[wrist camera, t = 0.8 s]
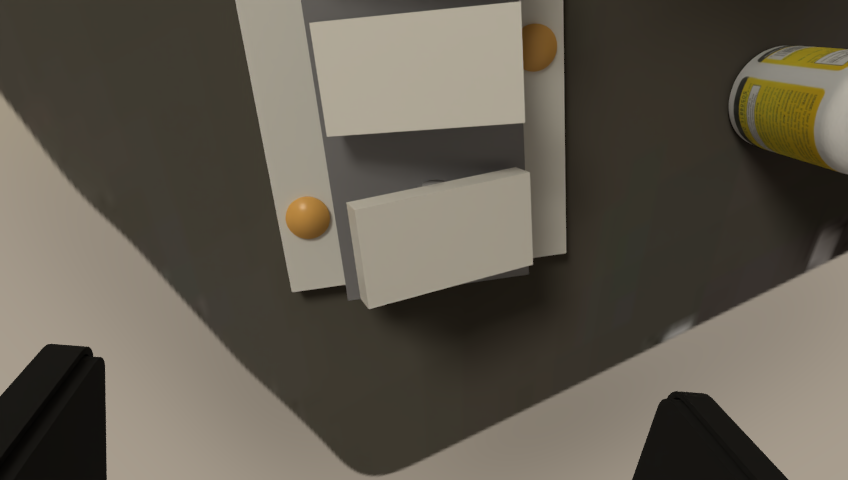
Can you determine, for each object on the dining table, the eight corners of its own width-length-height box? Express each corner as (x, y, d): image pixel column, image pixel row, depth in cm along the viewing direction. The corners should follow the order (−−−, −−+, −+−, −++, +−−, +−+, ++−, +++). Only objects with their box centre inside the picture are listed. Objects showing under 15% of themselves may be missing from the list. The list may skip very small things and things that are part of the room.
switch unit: (552, -221, 26) (592, -266, 22) (560, 246, 34) (590, 279, 30) (200, -196, 25) (173, -239, 21) (293, 284, 33) (286, 323, 29)
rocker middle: (519, 1, 24) (520, 1, 22) (524, 114, 25) (525, 122, 23) (323, 21, 25) (309, 22, 23) (338, 127, 26) (326, 136, 25)
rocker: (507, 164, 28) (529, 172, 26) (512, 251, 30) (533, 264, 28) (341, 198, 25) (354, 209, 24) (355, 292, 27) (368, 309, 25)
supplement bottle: (765, 165, 34) (920, 220, 25) (705, 106, 32) (847, 142, 23) (837, 87, 33) (1026, 115, 24) (779, 22, 31) (958, 25, 22)
